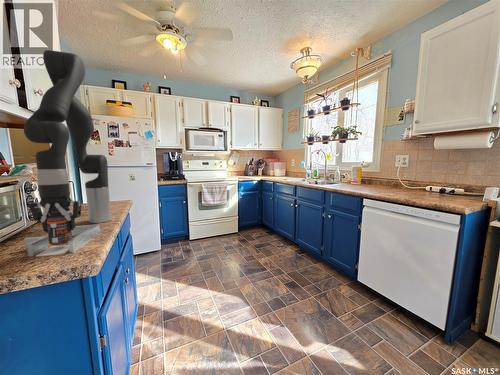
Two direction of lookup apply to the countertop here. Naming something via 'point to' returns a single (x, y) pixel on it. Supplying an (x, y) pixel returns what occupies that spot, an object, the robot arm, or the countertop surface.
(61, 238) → the supplement bottle
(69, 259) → the countertop surface
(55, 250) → the pad
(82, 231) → the grey angled wall frame
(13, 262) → the countertop surface
